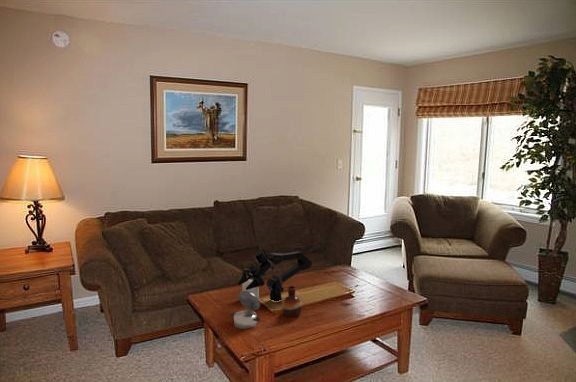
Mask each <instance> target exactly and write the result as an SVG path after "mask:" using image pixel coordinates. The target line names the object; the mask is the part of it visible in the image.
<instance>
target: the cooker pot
mask: <svg viewBox="0 0 576 382" xmlns="http://www.w3.org/2000/svg"><path fill="white" fill-rule="evenodd" d="M230 316H233V324H234V327H235V328H237V329H242V330H245V329H250V328H251V329H252V328H253V327H256V325H257V323H258V322H260V320H261V317H258V315H257V312H256V311H255V310H251V309H247V310H246V309H244V310H240V311H239V310H238V311H237V312H235V311H232V312H231V313H230Z"/></svg>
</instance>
